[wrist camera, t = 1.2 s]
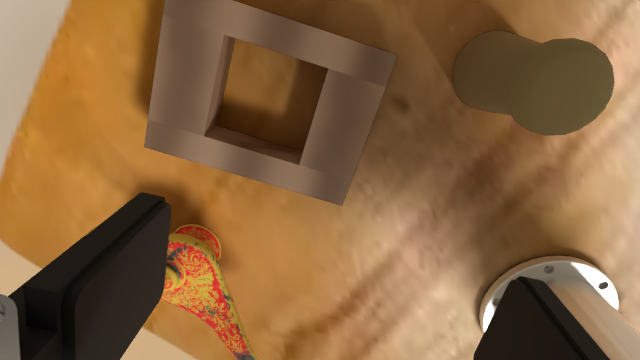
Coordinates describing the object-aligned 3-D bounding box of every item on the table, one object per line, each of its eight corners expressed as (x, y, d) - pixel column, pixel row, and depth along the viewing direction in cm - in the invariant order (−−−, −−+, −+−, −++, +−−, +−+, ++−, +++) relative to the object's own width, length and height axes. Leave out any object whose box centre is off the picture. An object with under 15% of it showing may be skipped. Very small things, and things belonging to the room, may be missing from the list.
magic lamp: (246, 333, 40) (216, 437, 30) (112, 214, 35) (22, 289, 25) (295, 300, 38) (281, 398, 28) (161, 170, 34) (84, 231, 23)
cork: (478, 16, 28) (561, 7, 18) (547, 50, 29) (665, 60, 19) (437, 92, 30) (490, 123, 20) (503, 122, 31) (586, 167, 21)
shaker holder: (390, 52, 29) (397, 55, 26) (341, 188, 34) (342, 205, 30) (187, -16, 28) (167, -22, 25) (163, 135, 32) (143, 147, 29)
